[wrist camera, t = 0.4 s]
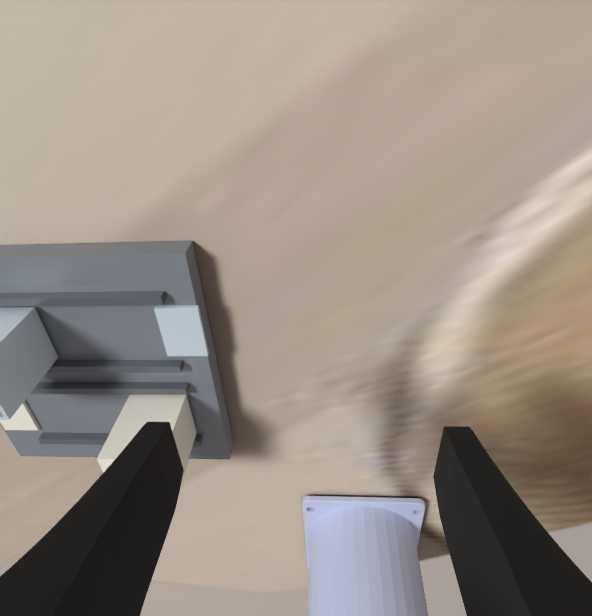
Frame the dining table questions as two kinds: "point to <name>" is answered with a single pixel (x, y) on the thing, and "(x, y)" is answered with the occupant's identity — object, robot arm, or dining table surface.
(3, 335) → the grey switch
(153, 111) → the dining table surface
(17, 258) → the switch panel
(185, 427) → the cream switch
